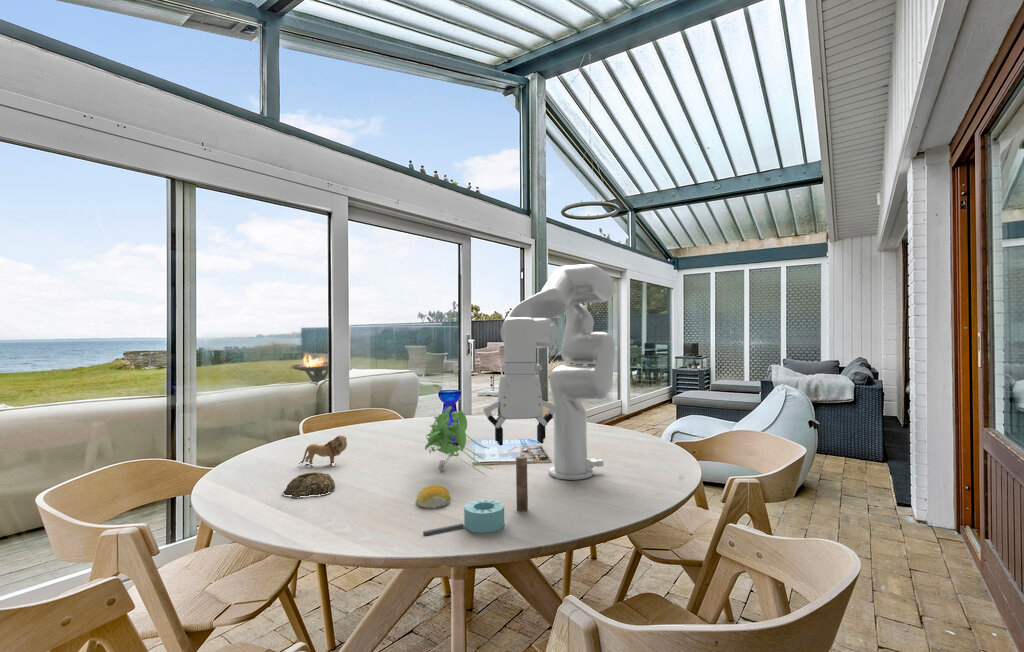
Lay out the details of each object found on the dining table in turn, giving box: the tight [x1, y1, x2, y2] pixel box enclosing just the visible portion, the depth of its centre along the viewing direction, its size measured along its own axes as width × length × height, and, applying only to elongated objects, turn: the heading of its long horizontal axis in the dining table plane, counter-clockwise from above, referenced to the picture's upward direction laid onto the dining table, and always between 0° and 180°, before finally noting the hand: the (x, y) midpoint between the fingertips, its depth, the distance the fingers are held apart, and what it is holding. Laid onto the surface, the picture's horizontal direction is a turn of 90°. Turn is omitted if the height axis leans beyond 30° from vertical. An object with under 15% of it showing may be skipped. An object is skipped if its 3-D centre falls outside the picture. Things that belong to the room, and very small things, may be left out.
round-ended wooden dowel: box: [515, 456, 529, 512], centre depth 114 cm, size 3×3×12 cm
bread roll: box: [415, 484, 452, 509], centre depth 120 cm, size 8×9×4 cm
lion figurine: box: [298, 435, 348, 465], centre depth 155 cm, size 15×5×9 cm, turn 104°
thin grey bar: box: [422, 523, 465, 536], centre depth 102 cm, size 9×1×1 cm, turn 117°
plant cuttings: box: [424, 405, 493, 477], centre depth 148 cm, size 35×17×22 cm
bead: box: [463, 498, 505, 534], centre depth 105 cm, size 8×8×4 cm
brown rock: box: [282, 471, 336, 497], centre depth 130 cm, size 13×12×5 cm
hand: (520, 443), depth 114 cm, fingers open, 9 cm apart
